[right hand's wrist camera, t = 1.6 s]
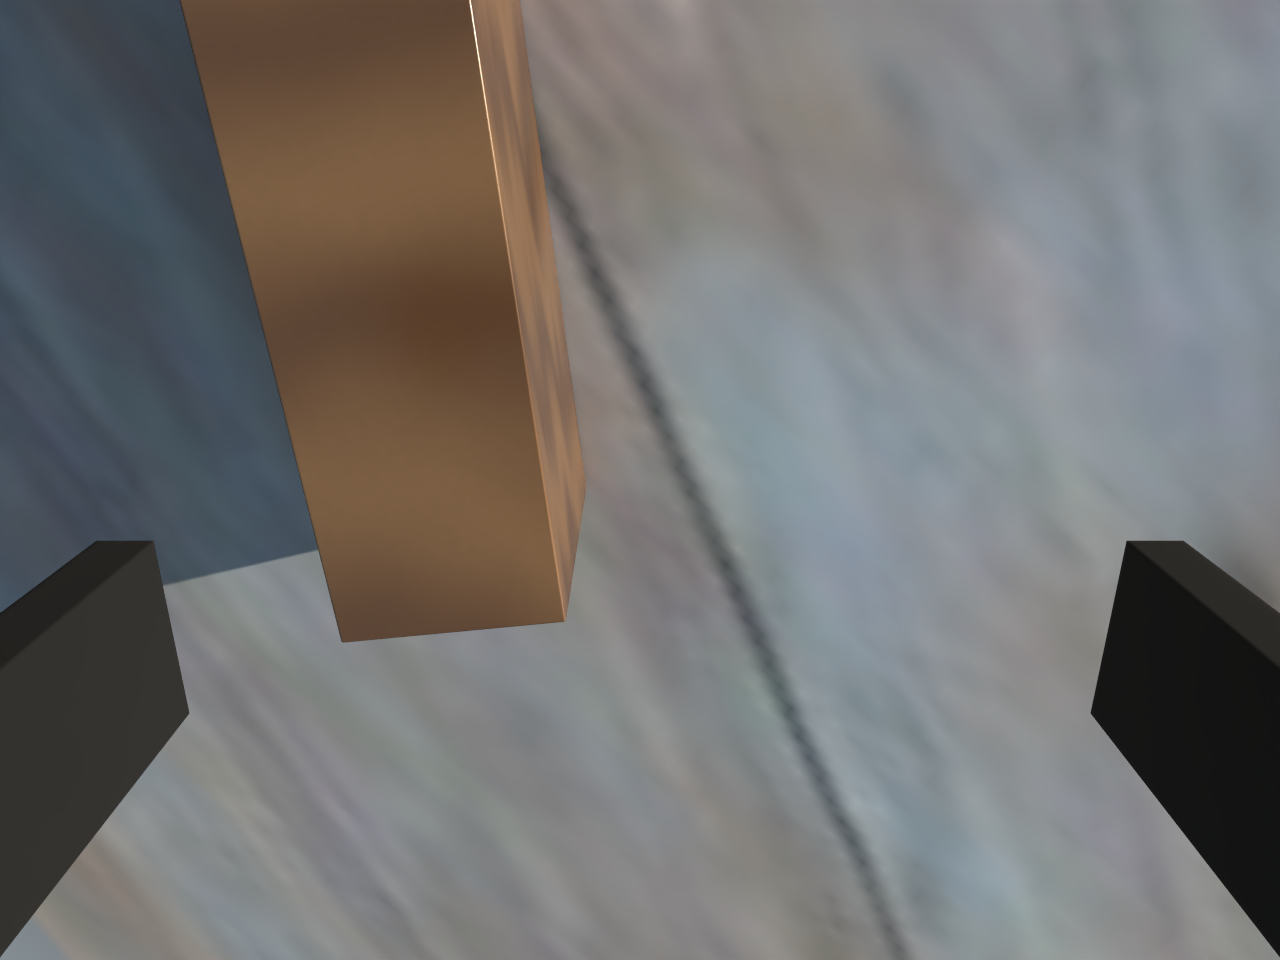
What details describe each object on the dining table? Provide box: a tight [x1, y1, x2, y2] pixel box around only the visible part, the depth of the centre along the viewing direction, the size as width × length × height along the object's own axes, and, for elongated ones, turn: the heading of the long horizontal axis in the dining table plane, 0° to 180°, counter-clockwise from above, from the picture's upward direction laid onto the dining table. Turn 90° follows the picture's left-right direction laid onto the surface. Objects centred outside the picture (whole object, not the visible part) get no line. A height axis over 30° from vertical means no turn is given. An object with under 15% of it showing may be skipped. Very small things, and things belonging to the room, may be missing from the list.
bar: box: [180, 0, 586, 642], centre depth 23 cm, size 24×6×9 cm, turn 6°
